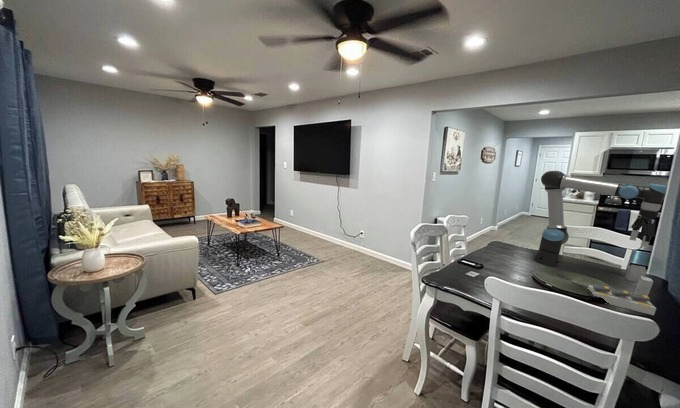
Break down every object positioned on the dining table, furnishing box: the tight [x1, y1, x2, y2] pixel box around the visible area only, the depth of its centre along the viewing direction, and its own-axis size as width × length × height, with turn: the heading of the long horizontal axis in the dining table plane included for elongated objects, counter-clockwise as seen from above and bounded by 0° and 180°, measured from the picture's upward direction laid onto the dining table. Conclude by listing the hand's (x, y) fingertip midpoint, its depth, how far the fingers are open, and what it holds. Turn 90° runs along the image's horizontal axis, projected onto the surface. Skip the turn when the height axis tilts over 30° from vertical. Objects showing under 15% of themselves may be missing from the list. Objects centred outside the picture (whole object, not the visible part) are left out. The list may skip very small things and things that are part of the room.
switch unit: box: [587, 284, 657, 316], centre depth 143 cm, size 23×11×4 cm, turn 61°
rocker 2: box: [610, 288, 631, 297], centre depth 142 cm, size 6×4×2 cm, turn 61°
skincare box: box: [633, 276, 654, 297], centre depth 148 cm, size 6×4×12 cm
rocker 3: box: [629, 293, 651, 303], centre depth 139 cm, size 6×4×2 cm, turn 61°
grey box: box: [624, 264, 646, 283], centre depth 172 cm, size 4×7×10 cm, turn 67°
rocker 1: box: [592, 284, 611, 292], centre depth 146 cm, size 6×4×2 cm, turn 61°
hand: (638, 243), depth 167 cm, fingers open, 13 cm apart
